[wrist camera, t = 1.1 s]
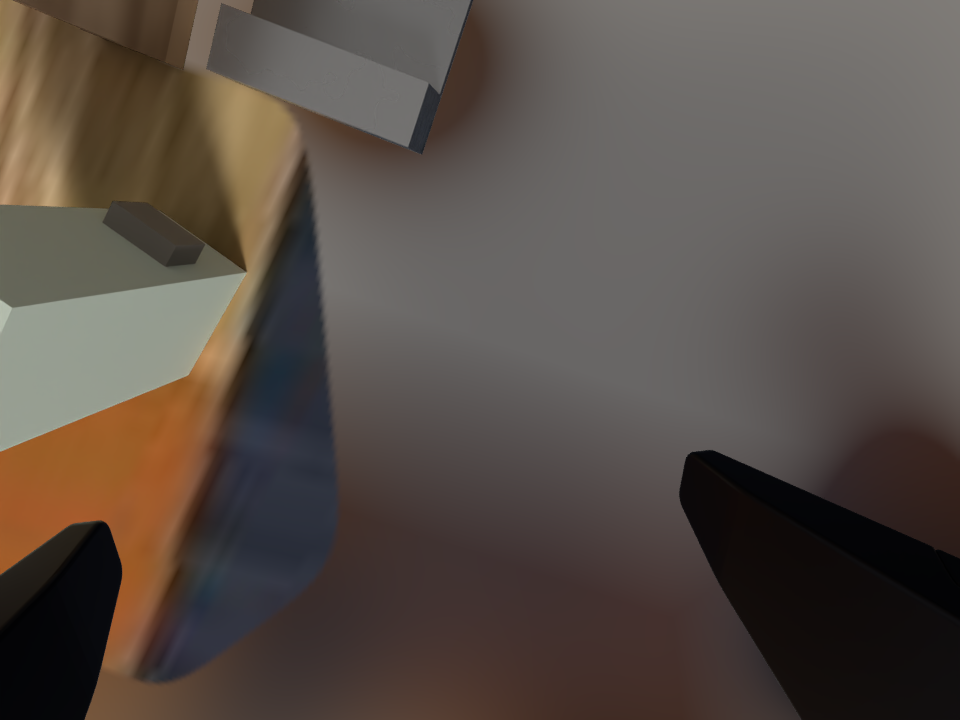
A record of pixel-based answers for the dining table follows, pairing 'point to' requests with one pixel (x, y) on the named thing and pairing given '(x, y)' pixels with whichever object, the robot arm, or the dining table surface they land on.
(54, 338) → the sage green block
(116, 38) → the wall board
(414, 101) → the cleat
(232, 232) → the dining table surface
